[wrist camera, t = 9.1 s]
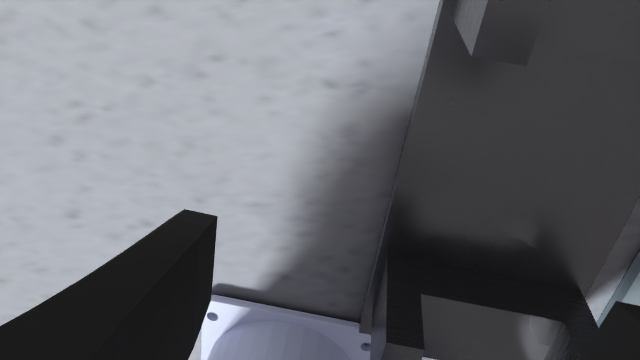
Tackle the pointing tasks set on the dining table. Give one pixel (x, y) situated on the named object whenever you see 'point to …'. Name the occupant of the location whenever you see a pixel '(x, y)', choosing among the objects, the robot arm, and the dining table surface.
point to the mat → (626, 289)
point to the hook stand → (509, 182)
